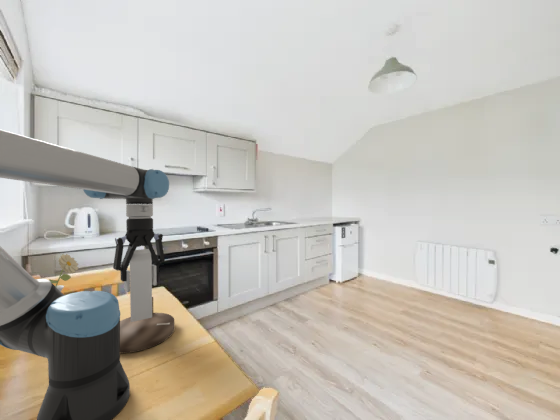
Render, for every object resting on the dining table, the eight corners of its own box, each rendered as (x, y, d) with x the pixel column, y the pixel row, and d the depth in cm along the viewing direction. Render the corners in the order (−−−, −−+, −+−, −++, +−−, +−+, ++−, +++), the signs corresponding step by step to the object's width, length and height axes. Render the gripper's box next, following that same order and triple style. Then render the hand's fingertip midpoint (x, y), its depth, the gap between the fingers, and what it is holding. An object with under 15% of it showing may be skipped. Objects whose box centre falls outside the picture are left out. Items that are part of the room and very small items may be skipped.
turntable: (89, 356, 68) (88, 326, 68) (121, 322, 88) (121, 298, 87) (165, 348, 72) (165, 319, 72) (180, 317, 91) (179, 294, 91)
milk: (130, 315, 81) (129, 249, 80) (151, 310, 84) (150, 247, 83) (130, 322, 75) (129, 252, 75) (152, 317, 79) (151, 250, 78)
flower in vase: (50, 336, 79) (48, 260, 78) (23, 333, 81) (21, 258, 80) (89, 318, 91) (88, 252, 91) (64, 315, 94) (63, 251, 93)
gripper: (106, 219, 69) (108, 299, 69) (175, 216, 84) (176, 282, 85) (98, 218, 73) (100, 293, 74) (165, 216, 89) (166, 277, 90)
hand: (140, 287), depth 79 cm, fingers closed on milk, 7 cm apart
